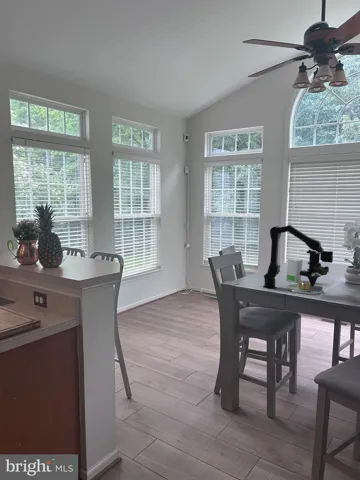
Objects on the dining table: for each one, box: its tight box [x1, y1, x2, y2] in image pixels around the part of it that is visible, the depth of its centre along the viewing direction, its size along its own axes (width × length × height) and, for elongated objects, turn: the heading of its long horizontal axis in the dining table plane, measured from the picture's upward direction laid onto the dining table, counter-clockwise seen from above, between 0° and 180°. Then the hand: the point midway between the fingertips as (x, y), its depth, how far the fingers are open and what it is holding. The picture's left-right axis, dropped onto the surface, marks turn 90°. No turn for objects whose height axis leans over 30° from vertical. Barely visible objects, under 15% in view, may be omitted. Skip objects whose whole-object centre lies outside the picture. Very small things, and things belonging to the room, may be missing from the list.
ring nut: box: [297, 280, 323, 292], centre depth 222 cm, size 15×8×4 cm, turn 54°
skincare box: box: [285, 258, 303, 283], centre depth 250 cm, size 8×7×16 cm
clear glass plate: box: [285, 280, 323, 295], centre depth 224 cm, size 22×22×4 cm
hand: (312, 286), depth 216 cm, fingers closed
